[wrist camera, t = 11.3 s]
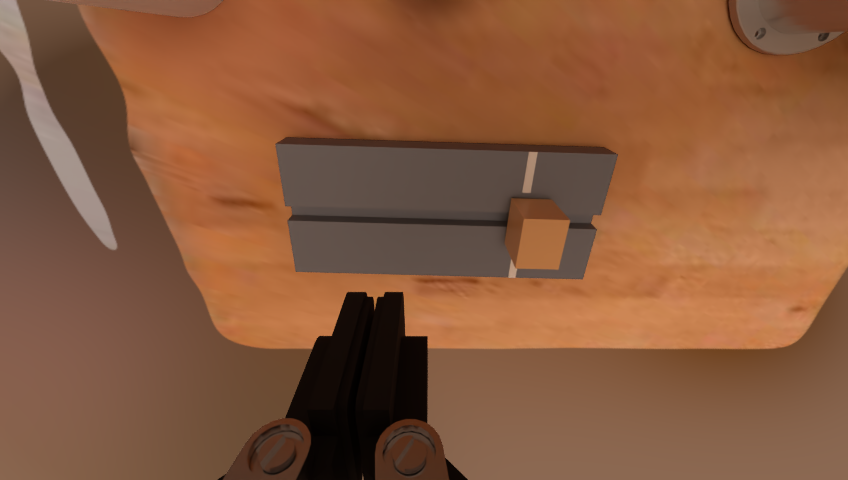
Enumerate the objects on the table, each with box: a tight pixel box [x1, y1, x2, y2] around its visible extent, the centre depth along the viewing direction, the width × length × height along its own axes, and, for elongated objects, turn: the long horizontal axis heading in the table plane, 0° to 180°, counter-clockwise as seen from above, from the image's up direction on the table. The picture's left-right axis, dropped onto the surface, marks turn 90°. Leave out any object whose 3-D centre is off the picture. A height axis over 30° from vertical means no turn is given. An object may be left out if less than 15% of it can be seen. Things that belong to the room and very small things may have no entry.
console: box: [275, 137, 618, 279], centre depth 38 cm, size 32×14×3 cm, turn 88°
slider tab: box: [505, 198, 570, 270], centre depth 35 cm, size 4×5×7 cm
